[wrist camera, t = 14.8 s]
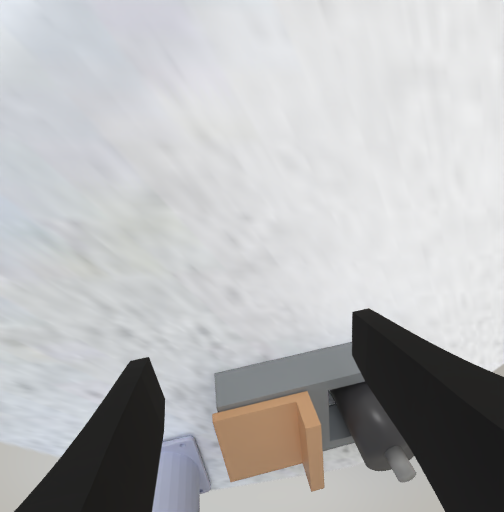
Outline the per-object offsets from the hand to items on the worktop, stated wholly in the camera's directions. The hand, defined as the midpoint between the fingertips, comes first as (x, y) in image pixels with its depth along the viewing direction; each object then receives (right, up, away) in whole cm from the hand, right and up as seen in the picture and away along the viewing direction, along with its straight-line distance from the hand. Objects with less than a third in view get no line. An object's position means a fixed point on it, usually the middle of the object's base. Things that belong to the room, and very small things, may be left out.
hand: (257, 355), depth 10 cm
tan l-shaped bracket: (+1, -10, +12) cm, 15 cm away
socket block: (+5, -8, +15) cm, 17 cm away
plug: (+8, -7, +15) cm, 19 cm away
